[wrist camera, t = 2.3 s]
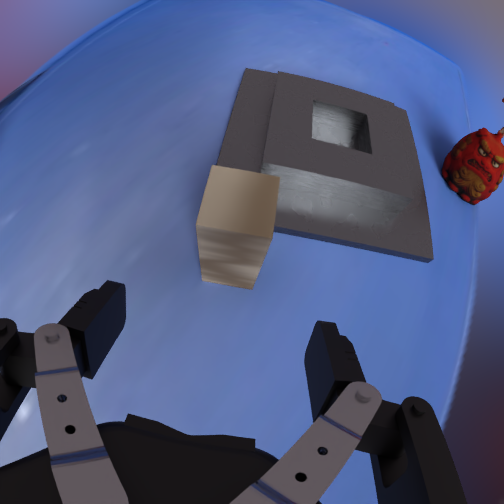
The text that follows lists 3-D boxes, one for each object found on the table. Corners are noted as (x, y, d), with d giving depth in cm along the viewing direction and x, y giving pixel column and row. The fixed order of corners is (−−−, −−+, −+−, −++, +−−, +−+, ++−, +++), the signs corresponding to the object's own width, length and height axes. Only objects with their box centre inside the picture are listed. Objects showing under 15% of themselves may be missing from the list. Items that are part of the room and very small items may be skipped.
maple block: (202, 280, 25) (195, 224, 16) (212, 235, 26) (212, 164, 18) (252, 289, 25) (272, 238, 16) (259, 244, 27) (280, 177, 18)
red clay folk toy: (433, 181, 32) (505, 97, 19) (441, 150, 35) (500, 74, 21) (477, 217, 31) (555, 148, 18) (481, 183, 34) (545, 117, 20)
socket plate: (204, 218, 27) (202, 193, 23) (245, 74, 36) (248, 49, 32) (428, 263, 28) (451, 246, 24) (402, 115, 37) (415, 95, 33)
